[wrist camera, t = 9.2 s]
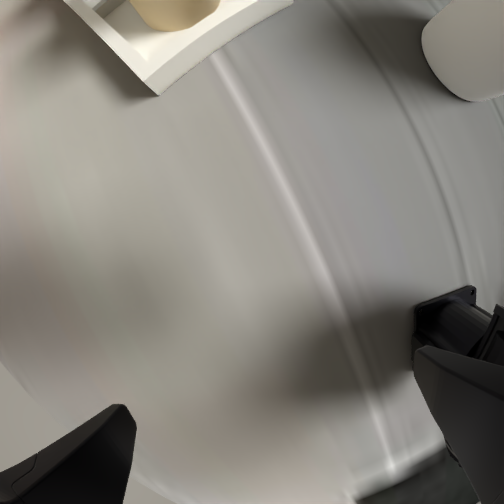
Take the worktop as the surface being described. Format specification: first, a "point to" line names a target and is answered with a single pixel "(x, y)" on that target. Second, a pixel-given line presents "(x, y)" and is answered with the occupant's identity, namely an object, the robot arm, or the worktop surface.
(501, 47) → the pill bottle
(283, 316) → the worktop surface
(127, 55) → the white rectangular tray
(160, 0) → the beige tall cylinder
